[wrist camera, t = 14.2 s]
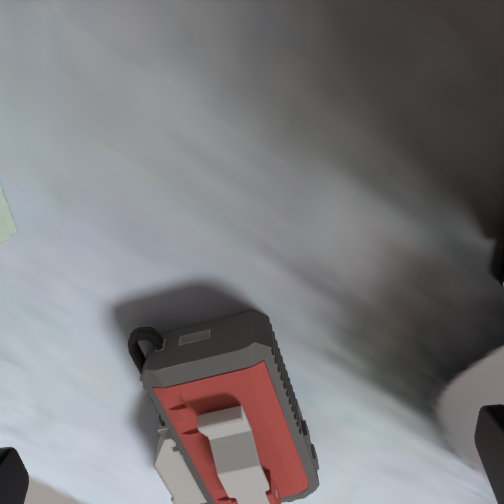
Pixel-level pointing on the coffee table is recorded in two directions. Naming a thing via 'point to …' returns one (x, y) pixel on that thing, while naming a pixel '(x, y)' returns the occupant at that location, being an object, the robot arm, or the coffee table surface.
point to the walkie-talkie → (226, 413)
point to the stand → (5, 219)
